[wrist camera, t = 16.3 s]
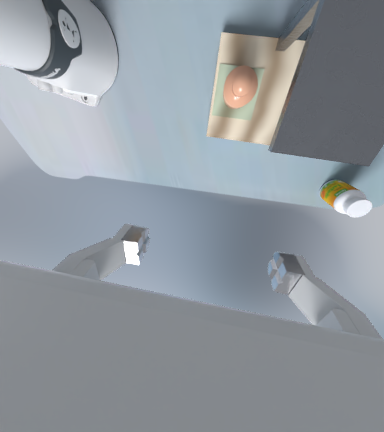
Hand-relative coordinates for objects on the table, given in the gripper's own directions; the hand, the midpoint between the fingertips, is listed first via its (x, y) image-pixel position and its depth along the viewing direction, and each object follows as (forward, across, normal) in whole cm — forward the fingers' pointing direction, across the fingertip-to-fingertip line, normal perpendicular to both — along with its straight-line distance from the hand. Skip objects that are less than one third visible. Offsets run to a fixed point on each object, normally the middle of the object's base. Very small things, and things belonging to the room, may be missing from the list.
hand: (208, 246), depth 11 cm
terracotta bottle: (+32, -2, -11) cm, 34 cm away
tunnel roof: (+32, -13, -11) cm, 36 cm away
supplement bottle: (+34, -29, +5) cm, 45 cm away
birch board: (+34, -10, -11) cm, 37 cm away
